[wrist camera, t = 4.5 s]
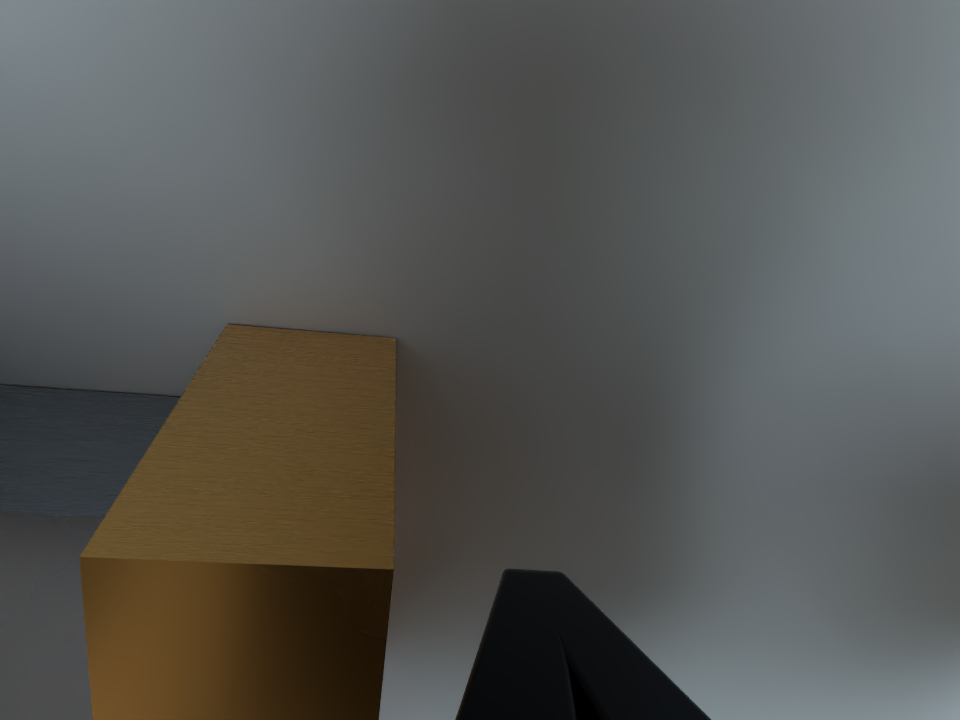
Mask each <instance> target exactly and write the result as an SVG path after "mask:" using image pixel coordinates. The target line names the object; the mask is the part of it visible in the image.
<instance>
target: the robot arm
mask: <svg viewBox="0 0 960 720" xmlns="http://www.w3.org/2000/svg"><path fill="white" fill-rule="evenodd" d="M456 720H711V719H710V718H709V717H708V716H707V715H706V714H705V713H704V712H703V711H702V710H701V709H700V708H699V707H698V706H697V705H696V704H695V703H694V702H693V701H692V700H691V699H690V698H689V697H688V696H687V695H686V694H685V693H684V692H683V691H682V690H681V689H680V688H679V687H678V686H677V685H676V684H675V683H674V682H673V681H672V680H671V679H670V678H669V677H668V676H667V675H666V674H665V673H664V672H663V671H662V670H661V669H660V668H658V667H657V666H656V665H655V664H654V663H653V662H652V661H651V660H650V659H649V658H648V657H647V656H646V655H645V654H644V653H643V652H642V651H641V650H640V649H639V648H638V647H637V646H636V645H635V644H634V643H633V642H632V641H631V640H630V639H629V638H628V637H627V636H626V635H625V634H624V633H623V632H622V631H621V630H620V629H619V628H618V627H617V626H616V625H615V624H614V623H613V622H612V621H611V620H610V619H609V618H608V617H607V616H606V615H605V614H604V613H603V612H602V611H601V610H600V609H599V608H598V607H597V606H596V605H595V604H594V603H593V602H592V601H591V600H590V599H589V598H588V597H587V596H586V595H585V594H584V593H583V592H582V591H581V590H580V589H579V588H578V587H577V586H576V585H575V584H574V583H573V582H572V581H571V580H570V579H569V578H568V577H567V576H565V575H564V574H563V573H561V572H558V571H542V570H524V569H506V570H505V571H504V572H503V574H502V577H501V580H500V583H499V587H498V590H497V593H496V596H495V599H494V602H493V605H492V608H491V611H490V614H489V618H488V621H487V624H486V627H485V630H484V633H483V636H482V639H481V642H480V645H479V649H478V652H477V655H476V658H475V661H474V664H473V667H472V670H471V673H470V677H469V680H468V683H467V686H466V689H465V692H464V695H463V698H462V701H461V704H460V708H459V711H458V714H457V717H456Z"/></svg>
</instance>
